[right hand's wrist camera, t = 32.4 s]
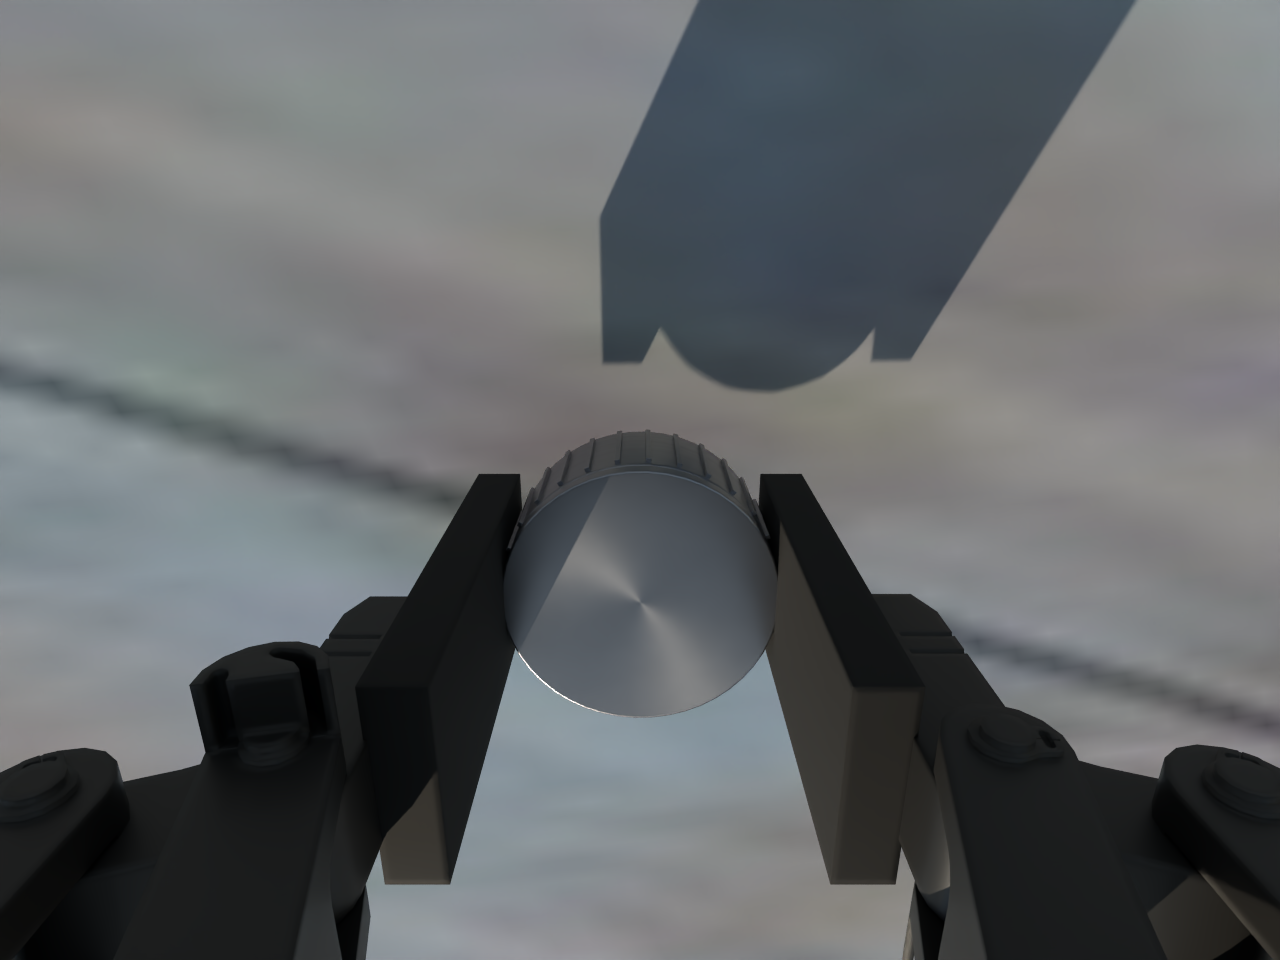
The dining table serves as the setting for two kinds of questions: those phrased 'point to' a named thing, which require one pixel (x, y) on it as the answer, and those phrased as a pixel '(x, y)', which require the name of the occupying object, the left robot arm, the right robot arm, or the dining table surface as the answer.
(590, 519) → the cap
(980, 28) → the dining table surface
